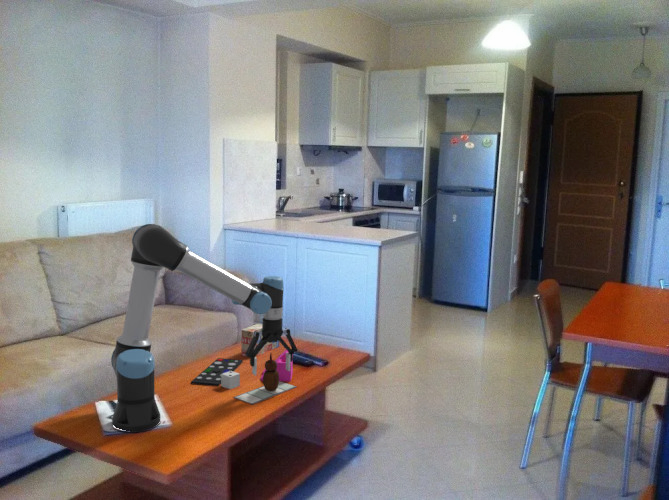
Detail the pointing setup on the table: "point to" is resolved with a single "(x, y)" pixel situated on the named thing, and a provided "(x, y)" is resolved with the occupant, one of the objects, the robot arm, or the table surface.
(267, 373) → the wooden figurine
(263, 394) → the game mat
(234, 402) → the table surface
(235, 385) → the die
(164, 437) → the table surface
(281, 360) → the bracket
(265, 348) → the stack of blocks
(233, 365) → the remote control
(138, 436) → the table surface
